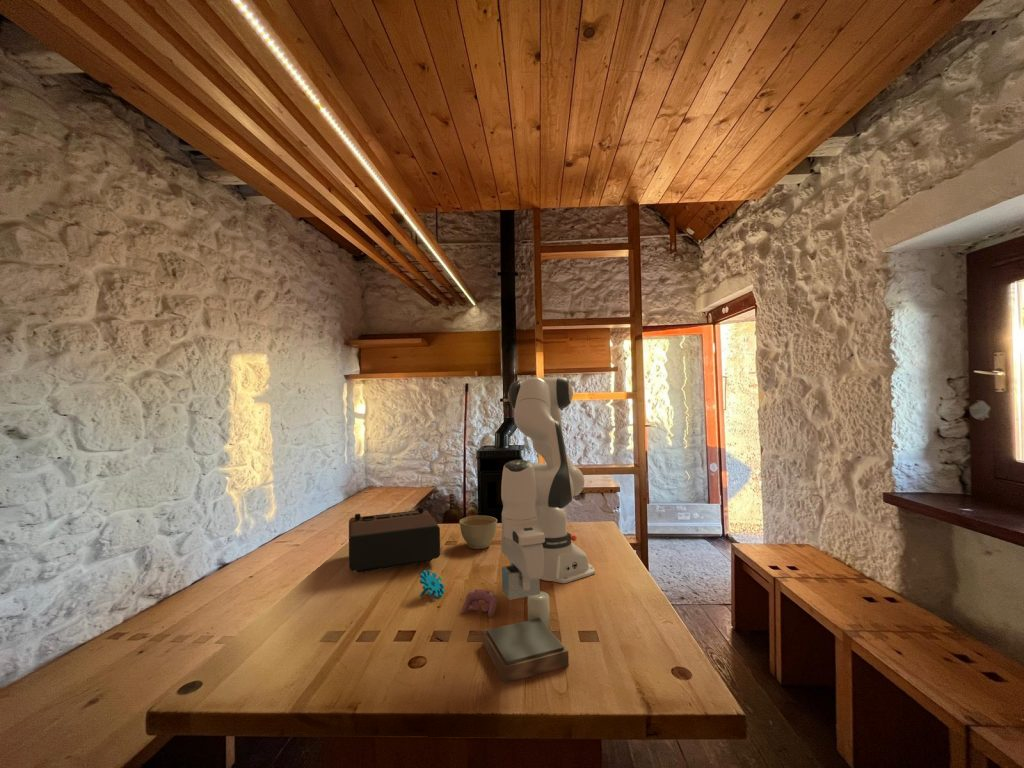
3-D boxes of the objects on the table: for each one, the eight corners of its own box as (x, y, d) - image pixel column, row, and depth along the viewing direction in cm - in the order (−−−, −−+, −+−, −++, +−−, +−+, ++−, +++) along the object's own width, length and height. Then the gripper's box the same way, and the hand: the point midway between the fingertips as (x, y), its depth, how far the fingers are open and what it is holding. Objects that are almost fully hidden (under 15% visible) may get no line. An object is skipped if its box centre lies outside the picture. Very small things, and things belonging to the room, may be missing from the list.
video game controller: (496, 618, 125) (499, 592, 128) (491, 618, 121) (494, 591, 124) (466, 613, 128) (469, 588, 131) (460, 613, 124) (464, 586, 127)
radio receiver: (433, 543, 187) (433, 502, 188) (446, 565, 162) (446, 517, 163) (348, 555, 174) (348, 511, 175) (349, 581, 149) (348, 529, 150)
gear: (435, 599, 131) (417, 572, 134) (422, 611, 131) (404, 584, 135) (452, 589, 141) (435, 564, 144) (440, 601, 141) (423, 575, 145)
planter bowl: (496, 552, 175) (496, 525, 175) (457, 552, 175) (457, 526, 175) (498, 539, 191) (497, 514, 191) (462, 539, 191) (462, 515, 191)
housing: (502, 591, 106) (501, 566, 106) (532, 585, 108) (531, 562, 109) (509, 599, 101) (508, 574, 101) (539, 594, 104) (539, 569, 104)
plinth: (540, 631, 114) (539, 616, 114) (568, 665, 99) (568, 648, 100) (483, 644, 109) (483, 628, 109) (504, 683, 94) (504, 664, 94)
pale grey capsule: (544, 618, 121) (543, 589, 122) (553, 628, 116) (552, 598, 116) (524, 622, 119) (524, 593, 119) (533, 633, 114) (532, 602, 114)
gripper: (494, 517, 114) (495, 570, 113) (522, 541, 95) (523, 604, 94) (516, 515, 116) (517, 566, 116) (548, 537, 97) (549, 598, 96)
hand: (520, 583), depth 105 cm, fingers closed on housing, 5 cm apart
